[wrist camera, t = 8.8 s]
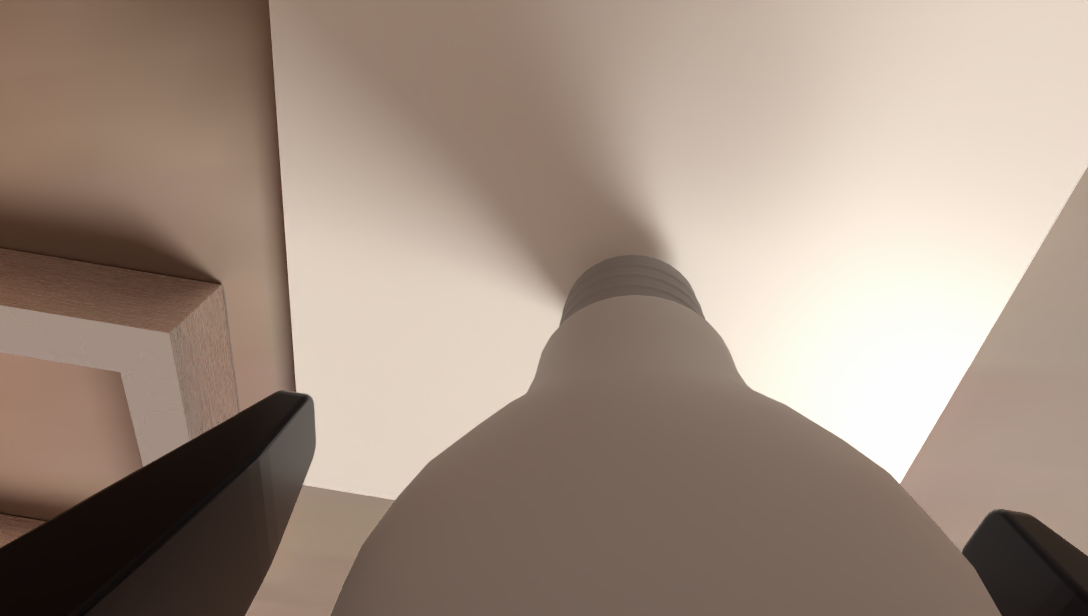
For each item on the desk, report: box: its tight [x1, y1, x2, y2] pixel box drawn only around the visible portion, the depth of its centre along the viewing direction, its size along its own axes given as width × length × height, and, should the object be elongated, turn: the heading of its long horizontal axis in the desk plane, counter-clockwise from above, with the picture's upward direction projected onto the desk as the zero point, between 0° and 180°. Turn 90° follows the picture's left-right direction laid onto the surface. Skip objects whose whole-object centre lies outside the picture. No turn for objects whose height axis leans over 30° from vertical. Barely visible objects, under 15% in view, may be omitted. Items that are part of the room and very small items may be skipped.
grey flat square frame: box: [0, 248, 239, 547], centre depth 16 cm, size 10×10×2 cm
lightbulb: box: [331, 255, 1002, 616], centre depth 8 cm, size 6×6×11 cm
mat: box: [269, 0, 1088, 500], centre depth 13 cm, size 14×14×1 cm
